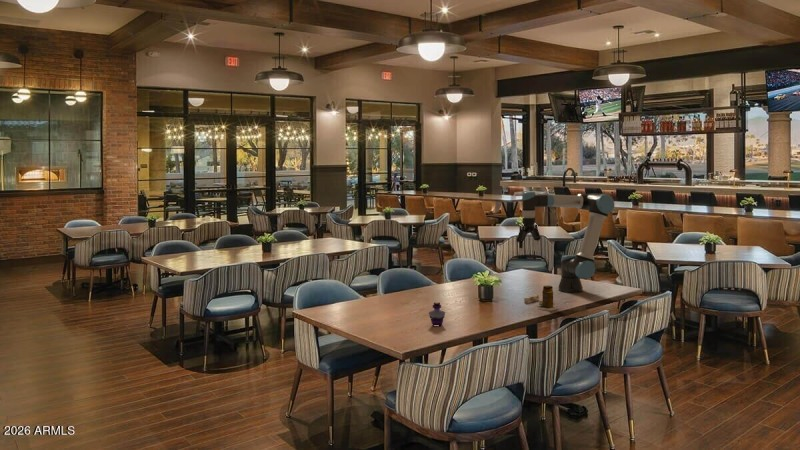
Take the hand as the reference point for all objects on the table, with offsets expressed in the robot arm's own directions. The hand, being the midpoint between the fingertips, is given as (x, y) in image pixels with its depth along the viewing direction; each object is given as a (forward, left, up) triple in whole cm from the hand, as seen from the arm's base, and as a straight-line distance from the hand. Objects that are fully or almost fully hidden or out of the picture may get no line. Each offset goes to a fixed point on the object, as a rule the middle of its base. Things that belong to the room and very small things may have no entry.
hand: (528, 252), depth 386 cm
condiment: (+14, +23, -28) cm, 39 cm away
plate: (+14, +23, -29) cm, 39 cm away
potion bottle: (+84, +6, -29) cm, 89 cm away
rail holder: (+6, +12, -29) cm, 32 cm away
